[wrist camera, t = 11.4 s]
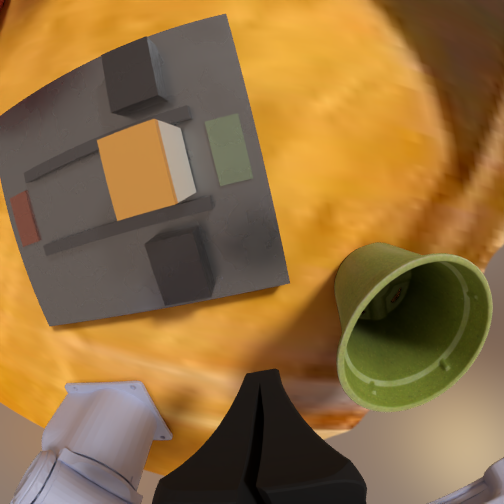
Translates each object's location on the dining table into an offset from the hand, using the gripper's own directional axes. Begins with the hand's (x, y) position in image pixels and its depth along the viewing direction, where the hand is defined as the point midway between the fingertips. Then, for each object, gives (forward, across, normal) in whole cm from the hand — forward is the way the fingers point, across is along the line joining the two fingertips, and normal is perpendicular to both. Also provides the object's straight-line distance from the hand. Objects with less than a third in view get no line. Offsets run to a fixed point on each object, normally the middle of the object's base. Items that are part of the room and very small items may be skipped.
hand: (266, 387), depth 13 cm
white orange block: (+8, +4, -10) cm, 13 cm away
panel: (+10, +8, -10) cm, 16 cm away
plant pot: (+10, -8, +1) cm, 13 cm away
